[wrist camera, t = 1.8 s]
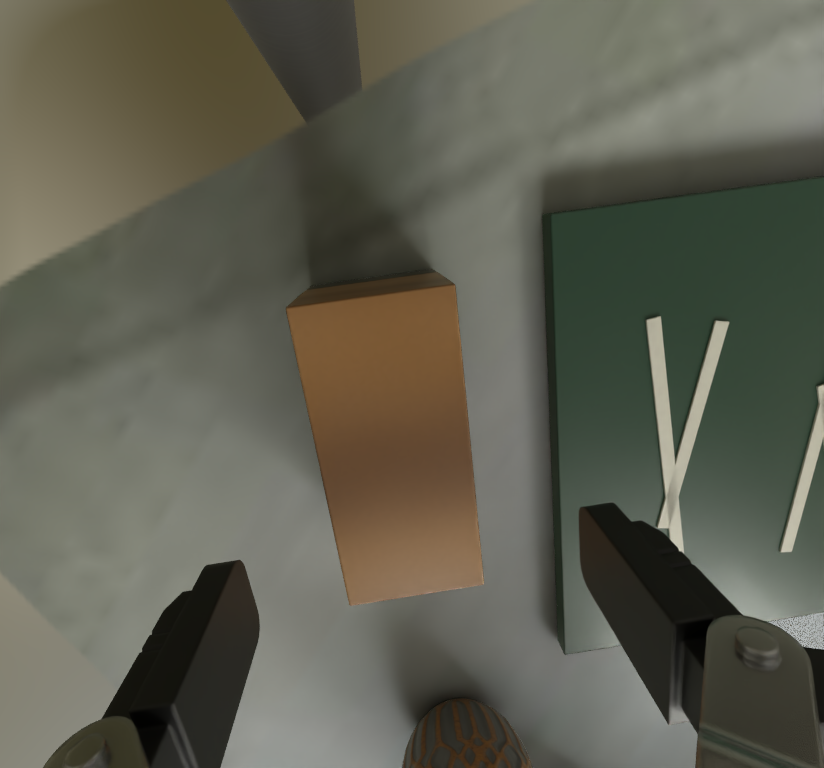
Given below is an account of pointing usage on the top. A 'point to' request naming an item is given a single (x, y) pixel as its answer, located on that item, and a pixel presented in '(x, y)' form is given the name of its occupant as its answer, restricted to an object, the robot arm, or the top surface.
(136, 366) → the top surface
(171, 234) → the top surface
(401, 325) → the eraser
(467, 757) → the vase
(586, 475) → the slate board
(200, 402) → the top surface
